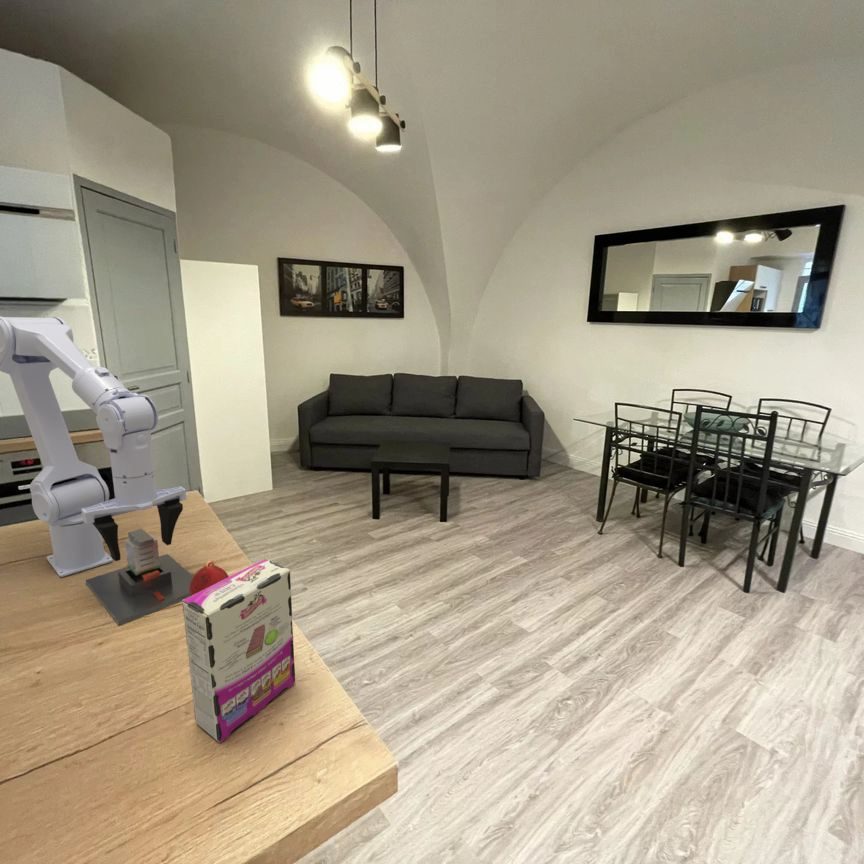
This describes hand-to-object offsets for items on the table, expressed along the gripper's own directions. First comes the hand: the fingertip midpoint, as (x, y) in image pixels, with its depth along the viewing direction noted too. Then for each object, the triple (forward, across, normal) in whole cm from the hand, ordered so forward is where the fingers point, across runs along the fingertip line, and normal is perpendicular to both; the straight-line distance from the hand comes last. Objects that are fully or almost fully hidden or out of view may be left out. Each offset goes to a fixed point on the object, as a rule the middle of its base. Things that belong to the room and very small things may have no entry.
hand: (142, 550), depth 79 cm
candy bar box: (+7, -1, -35) cm, 36 cm away
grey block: (+4, 0, 0) cm, 4 cm away
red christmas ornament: (+7, +5, -13) cm, 16 cm away
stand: (+7, 0, 0) cm, 7 cm away
